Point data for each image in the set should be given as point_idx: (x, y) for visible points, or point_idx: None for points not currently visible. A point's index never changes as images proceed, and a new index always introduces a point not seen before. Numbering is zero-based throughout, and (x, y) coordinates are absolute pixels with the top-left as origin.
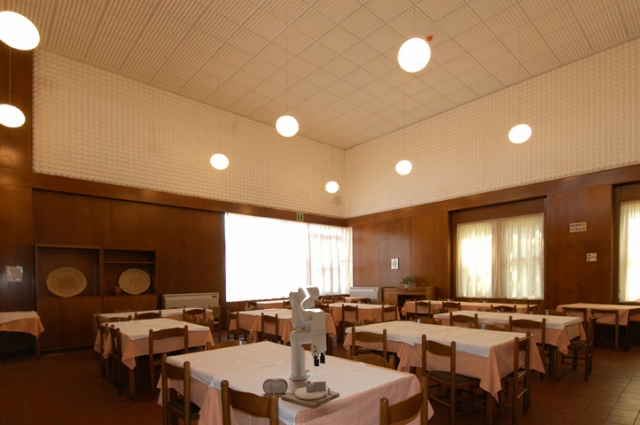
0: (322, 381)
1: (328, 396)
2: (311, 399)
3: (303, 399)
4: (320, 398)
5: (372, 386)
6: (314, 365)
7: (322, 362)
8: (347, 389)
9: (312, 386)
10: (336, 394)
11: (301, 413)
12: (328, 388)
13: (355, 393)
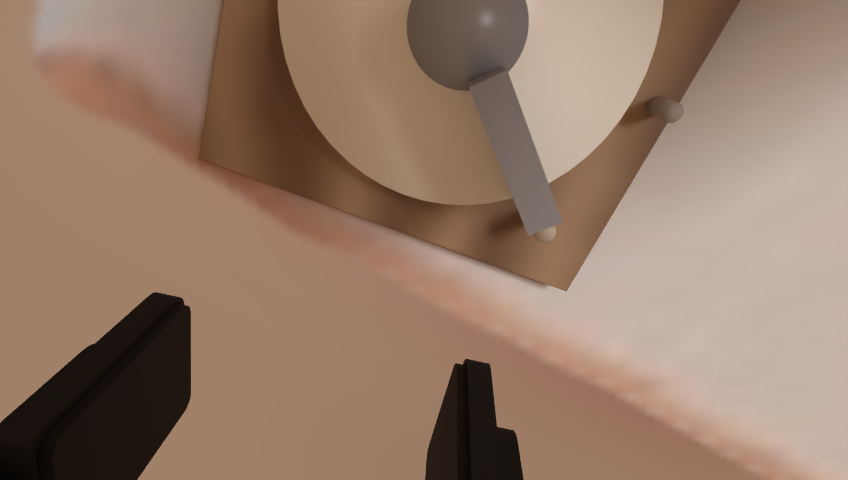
0: (542, 191)
1: (453, 226)
2: None
3: None
4: None
5: (813, 459)
6: (150, 307)
7: (436, 434)
8: (739, 308)
9: (439, 72)
10: (526, 276)
11: (63, 93)
12: None
13: (631, 378)
